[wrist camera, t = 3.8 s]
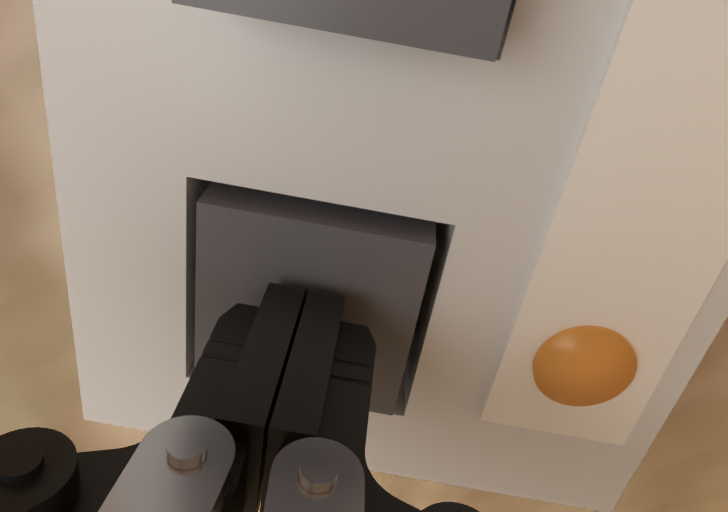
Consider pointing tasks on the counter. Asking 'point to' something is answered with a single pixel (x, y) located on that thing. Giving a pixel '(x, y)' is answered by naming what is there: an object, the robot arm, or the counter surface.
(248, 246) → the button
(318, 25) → the button middle
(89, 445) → the counter surface
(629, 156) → the button panel
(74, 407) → the counter surface
